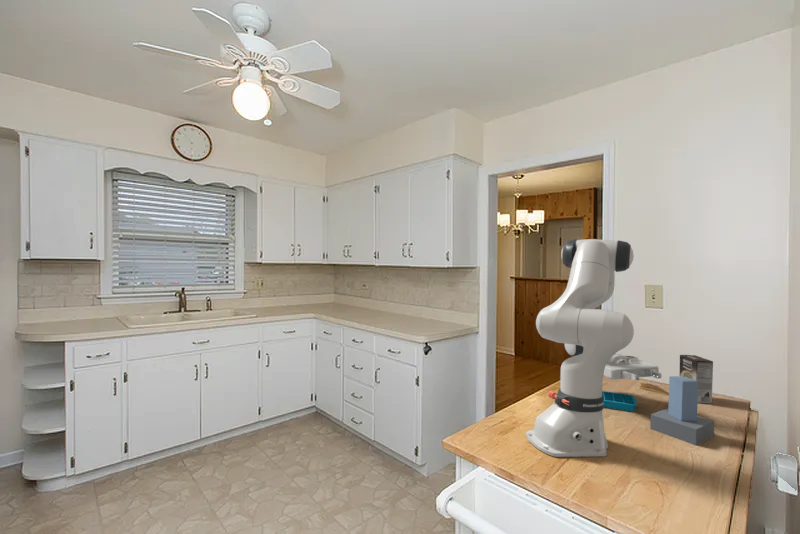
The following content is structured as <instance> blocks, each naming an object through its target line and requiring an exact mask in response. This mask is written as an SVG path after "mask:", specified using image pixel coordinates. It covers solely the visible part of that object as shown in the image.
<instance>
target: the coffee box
mask: <svg viewBox="0 0 800 534" xmlns="http://www.w3.org/2000/svg"><path fill="white" fill-rule="evenodd" d="M713 369H714V361H713V360H710V359H707V358H704V357H702V356H698V355H695V354H692V355H691V354H679V376H685V377H687V378H690V379H693V380H696V381H698V403H697V404H712V403H713V382H714V381H713V379H714V377H713V373H714V370H713Z"/></svg>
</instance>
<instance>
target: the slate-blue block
mask: <svg viewBox="0 0 800 534" xmlns="http://www.w3.org/2000/svg"><path fill="white" fill-rule="evenodd" d="M668 379H669V382H668V393H669V394H668V407H667V408H668V414H669V415H671V416H673V417H675V418H677V419H679V420H681V421H697V416H698V404H699V403H698V381H696V380H693V379H690V378H687V377H685V376H680V375H678V376H674V375H673V376H671V375H670V376H669V378H668Z"/></svg>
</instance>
